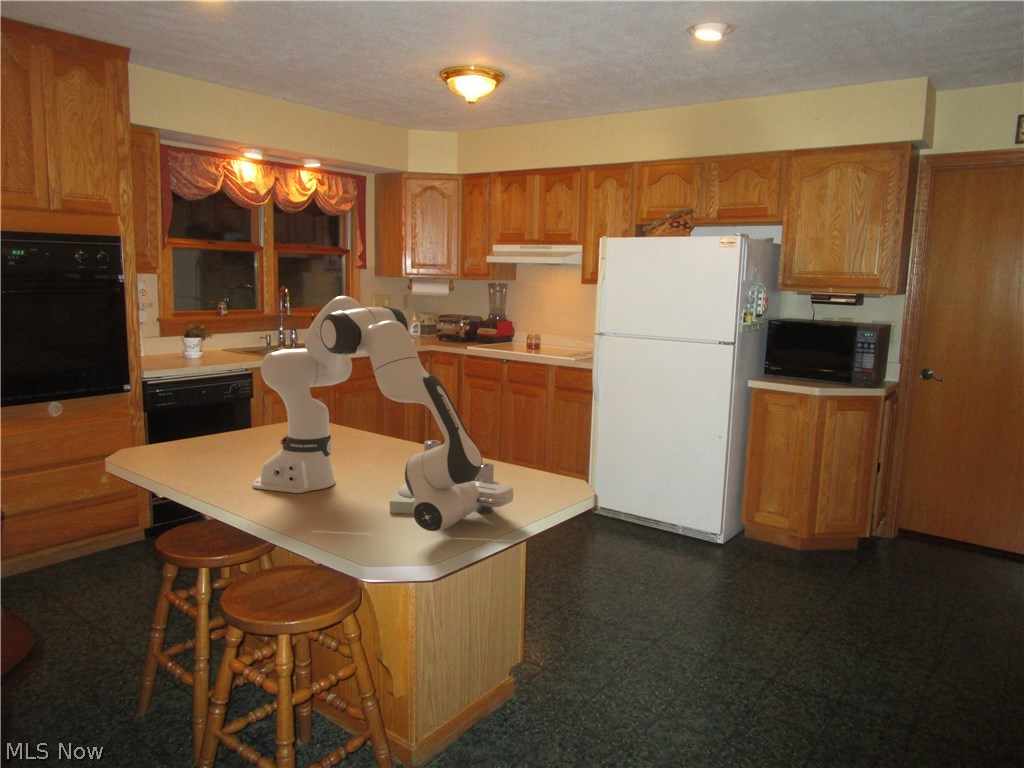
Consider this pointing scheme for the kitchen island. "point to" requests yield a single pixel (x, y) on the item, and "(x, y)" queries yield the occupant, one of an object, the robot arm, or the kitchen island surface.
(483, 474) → the cylinder
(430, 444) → the cylinder
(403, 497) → the scale
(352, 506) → the kitchen island surface
